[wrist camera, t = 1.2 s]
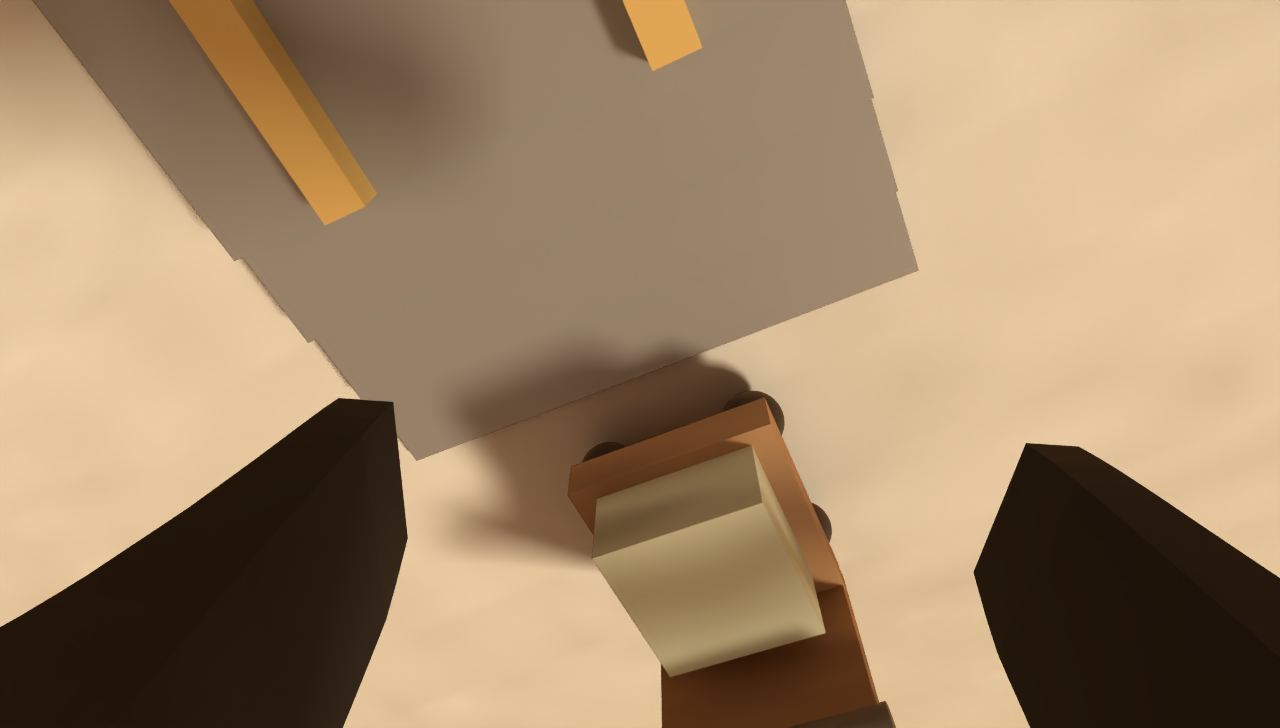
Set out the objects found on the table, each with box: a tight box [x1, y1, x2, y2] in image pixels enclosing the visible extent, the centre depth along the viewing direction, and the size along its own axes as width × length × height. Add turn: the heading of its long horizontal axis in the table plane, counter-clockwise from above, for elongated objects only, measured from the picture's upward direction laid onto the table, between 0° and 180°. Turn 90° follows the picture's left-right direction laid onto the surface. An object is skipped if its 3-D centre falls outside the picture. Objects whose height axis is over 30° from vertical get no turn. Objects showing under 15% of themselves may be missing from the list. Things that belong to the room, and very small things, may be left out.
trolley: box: [568, 391, 896, 728], centre depth 19 cm, size 6×6×7 cm
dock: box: [33, 0, 918, 461], centre depth 15 cm, size 15×14×4 cm
